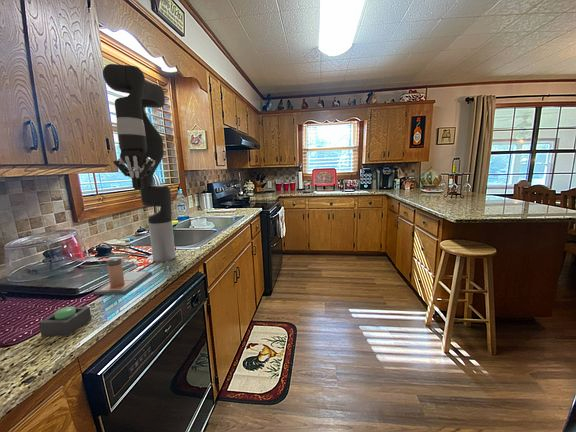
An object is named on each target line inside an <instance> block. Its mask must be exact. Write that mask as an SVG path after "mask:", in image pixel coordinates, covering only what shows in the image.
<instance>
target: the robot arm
mask: <svg viewBox="0 0 576 432" xmlns="http://www.w3.org/2000/svg"><path fill="white" fill-rule="evenodd" d="M102 75H103V76H102V77H103V80H104V81H105V83H106V85H107V86H108V87H109V88H110V89H111V90H113V91H115V92H118V93H119V92H120V93H124V94H128V95H127V96H123V97H118V98H116V99H115V100H114V109H115V116H116V117H115V118H116V132H117V139H118V146H119V147H118V148H119V150H120V154H119V158H118V159H117V160H114V161H113V164H114V165H115V166H116V167H117V169H119V170H120V172H121V173H122V174H123V175H124V176H125V177H129V178H130V179H131V183H132V184H131V185H132V189H134V191H140V199H141V202H142V204H143V206H145V207H147V208H148V207H150V208H153V207H154V208H155V207H160V210H159V211H158V212H156V213H153V214H150V215H149V216H148V218H147V220H148V228H149V236H150V246H151V255H152V261H153V262H156V263H157V262H158V263H163V262H168V261H172V260H174V259H175V258H176V250H175V238H174V237H175V236H174V230H173V219H172V218H173V212H172V195H171V194H172V193H171V189H170V188H169V186H168V185H165V184H156V185H155V184H154V185H153V180H154V179H153V178H154V174H155V172H156V170H157V169H158V167H159V165H160V164H161V162H162V160H163V158H164V155H165V150H164V140H163V137H162V135H161V134H160V132H159V131H158V130H157V128H156V127H155V126H154V125H153V123H152V121H151V120H150V117H149V116H148V114H147V111H146V110H147V108H150V109H151V108H153V109H155V108H157V109H158V108H159V109H160V108H163V107H165V103H166V97H165V91H164V89H163V88H162V86H160V85H159V84H156V83H152V82H150V81H148V80H146V77H145V75H144V73H143V70H141V68H140V67H138V66H136V65H131V64H130V65H128V64H116V63H109V64H107V65H105V66H104V67H103V70H102Z"/></svg>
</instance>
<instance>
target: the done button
mask: <svg viewBox="0 0 576 432" xmlns="http://www.w3.org/2000/svg"><path fill="white" fill-rule="evenodd" d="M64 307H65V308H64ZM64 307H61V308H59V309H58V310H56V311H55V312H54V313H53V314H54V317H55V320H67V319H69V318H70V317H72V316H73V315H75V314H76V310H75V307H76V306H64Z"/></svg>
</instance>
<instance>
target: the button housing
mask: <svg viewBox="0 0 576 432" xmlns="http://www.w3.org/2000/svg"><path fill="white" fill-rule="evenodd" d="M65 307H66V306H63V308H65ZM74 307H75V310H76V314H75V315H73V316H72V317H70V318H69V319H67V320H55V317H54V313H52V314H51V315H49V316H47V317H45V318H43V319H42V320H41V321H39V322H38V325H39V326H38V327H39V331H40V334H41V335H40V336H43V337H45V336H47V337H49V336H51V337H53V336H54V337H55V336H56V337H57V336H58V337H59V336H61V337H62V336H63V337H65V336H71V335H72V334H74V333H75V332H76V331H77V330H79V329H80V328H81V327H83V326H84V325H86V324H87V323H88V322H90V321H91V320H92V313H91V307H90V306H74Z"/></svg>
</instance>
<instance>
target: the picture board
mask: <svg viewBox="0 0 576 432" xmlns="http://www.w3.org/2000/svg"><path fill="white" fill-rule="evenodd" d="M152 274H153V272H152V270H151V271H148V270H147V271H123V275H124V282H125V284H124V285H123V286H121V287H118V288H111V287H110V281H108V282H106V283H105V284H103V285H102V286H100V287H98V288H97V289H95V290H93V295H125V294H127V293H128V292H129V291H131V290H132V289H134V288H135V287H136V286H138V285H139V284H140V283H142V282H143V281H144V280H146V279H147V278H148V277H149V276H151V275H152Z"/></svg>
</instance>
